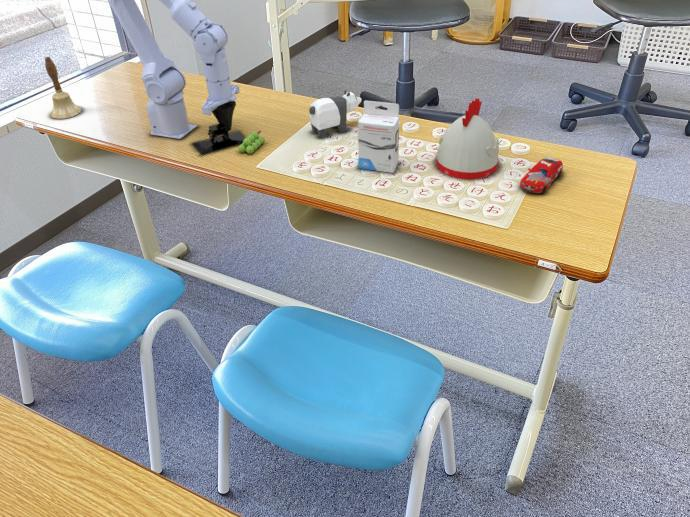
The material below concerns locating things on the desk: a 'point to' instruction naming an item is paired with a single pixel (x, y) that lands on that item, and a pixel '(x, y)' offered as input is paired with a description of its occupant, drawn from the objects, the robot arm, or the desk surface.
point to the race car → (542, 175)
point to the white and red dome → (468, 147)
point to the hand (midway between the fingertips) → (226, 130)
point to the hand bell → (60, 95)
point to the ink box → (379, 137)
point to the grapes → (251, 143)
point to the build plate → (218, 139)
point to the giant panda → (332, 112)
